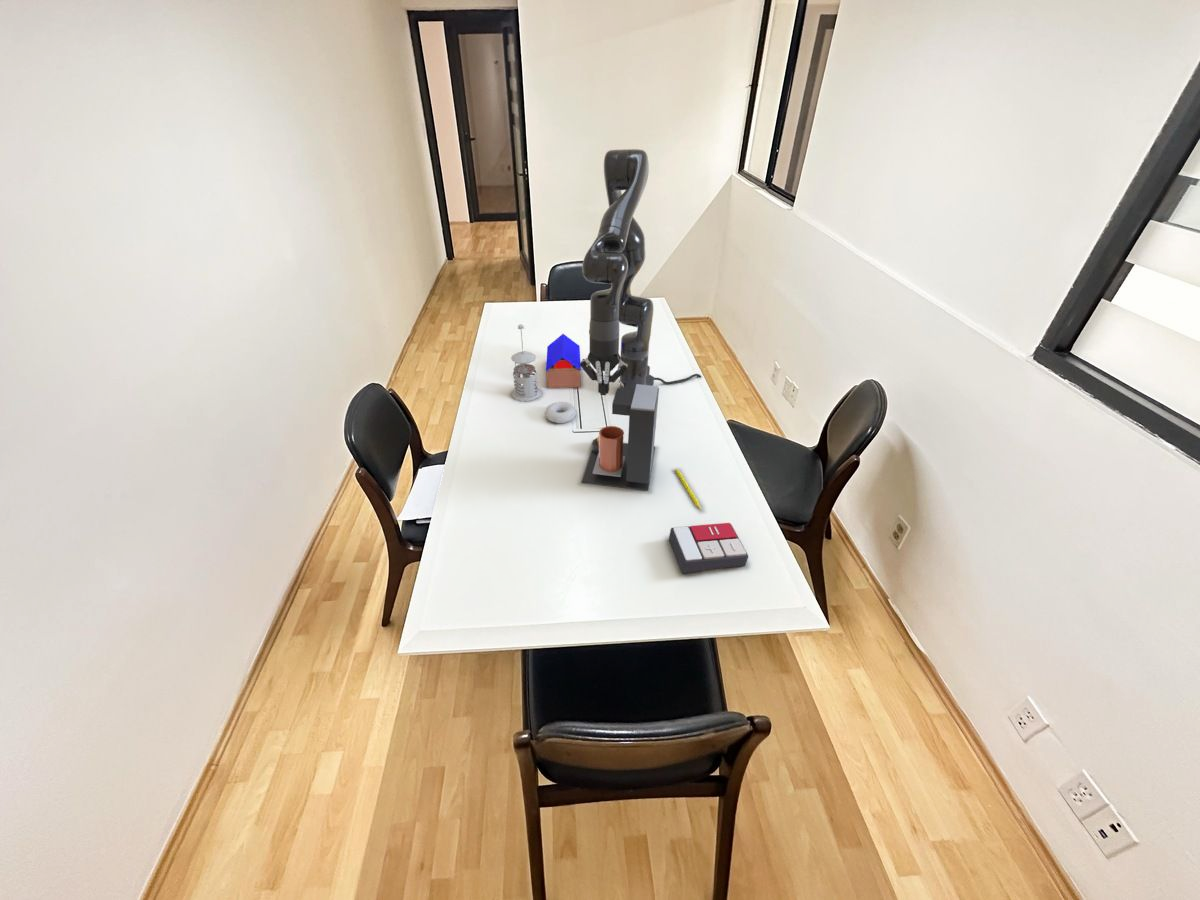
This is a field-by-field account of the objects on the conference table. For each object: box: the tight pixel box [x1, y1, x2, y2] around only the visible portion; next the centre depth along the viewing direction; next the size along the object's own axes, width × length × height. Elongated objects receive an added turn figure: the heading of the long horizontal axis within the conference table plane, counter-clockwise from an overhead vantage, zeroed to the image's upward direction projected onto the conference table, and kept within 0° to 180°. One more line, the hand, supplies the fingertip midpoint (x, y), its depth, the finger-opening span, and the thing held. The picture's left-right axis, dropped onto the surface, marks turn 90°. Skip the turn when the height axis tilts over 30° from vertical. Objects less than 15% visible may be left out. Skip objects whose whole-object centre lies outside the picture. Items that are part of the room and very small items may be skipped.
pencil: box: [674, 468, 701, 510], centre depth 139 cm, size 16×1×1 cm, turn 14°
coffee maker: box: [592, 384, 660, 485], centre depth 136 cm, size 15×12×23 cm
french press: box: [510, 324, 542, 402], centre depth 173 cm, size 10×12×25 cm
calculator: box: [668, 522, 749, 574], centre depth 120 cm, size 11×4×15 cm
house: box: [545, 333, 582, 389], centre depth 188 cm, size 12×20×12 cm, turn 3°
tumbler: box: [598, 425, 625, 472], centre depth 140 cm, size 6×6×10 cm
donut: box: [544, 401, 577, 424], centre depth 167 cm, size 10×3×10 cm
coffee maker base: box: [581, 437, 656, 492], centre depth 147 cm, size 18×20×3 cm
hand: (603, 393), depth 142 cm, fingers closed
